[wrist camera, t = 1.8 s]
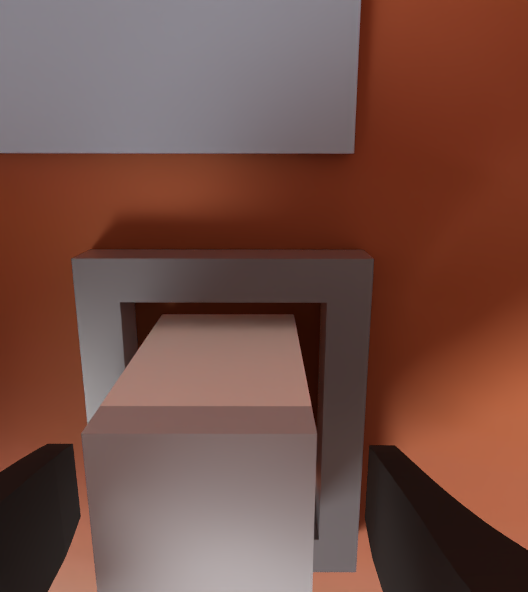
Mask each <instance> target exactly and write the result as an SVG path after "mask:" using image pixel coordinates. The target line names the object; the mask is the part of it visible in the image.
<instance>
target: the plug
mask: <svg viewBox="0 0 528 592" xmlns="http://www.w3.org/2000/svg"><path fill="white" fill-rule="evenodd" d="M81 437H82V447H83V456H84V466H85V476H86V486H87V495H88V505H89V515H90V524H91V534H92V544H93V554H94V563H95V573H96V583H97V592H312V580H313V547H314V515H315V483H316V450H317V431H316V426H315V421H314V416H313V411H312V406H311V400H310V395H309V390H308V385H307V380H306V375H305V370H304V364H303V359H302V354H301V349H300V344H299V339H298V334H297V328H296V323H295V318H294V314H162V315H161V317H160V318H159V320H158V321H157V323H156V324H155V326H154V327H153V329H152V330H151V332H150V333H149V334H148V336H147V337H146V339H145V340H144V342H143V343H142V345H141V346H140V348H139V349H138V351H137V352H136V354H135V355H134V357H133V358H132V359H131V361H130V362H129V364H128V365H127V367H126V368H125V370H124V371H123V373H122V374H121V376H120V377H119V379H118V380H117V382H116V383H115V384H114V386H113V387H112V389H111V390H110V392H109V393H108V395H107V396H106V398H105V399H104V401H103V402H102V404H101V405H100V407H99V408H98V410H97V411H96V412H95V414H94V415H93V417H92V418H91V420H90V421H89V423H88V424H87V426H86V427H85V429H84V430H83V432H82V433H81Z"/></svg>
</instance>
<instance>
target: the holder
mask: <svg viewBox="0 0 528 592" xmlns="http://www.w3.org/2000/svg"><path fill="white" fill-rule="evenodd" d="M71 261H72V271H73V282H74V292H75V302H76V312H77V322H78V333H79V343H80V353H81V363H82V373H83V384H84V394H85V404H86V414H87V424H88V423H89V421H90V420H91V418H92V417H93V415H94V414H95V412H96V411H97V410H98V408H99V407H100V405H101V404H102V402H103V401H104V399H105V398H106V396H107V395H108V393H109V392H110V390H111V389H112V387H113V386H114V384H115V383H116V382H117V380H118V379H119V377H120V376H121V374H122V373H123V371H124V370H125V368H126V367H127V365H128V364H129V362H130V361H131V359H132V358H133V357H134V355H135V354H136V352H137V351H138V342H137V327H136V313H135V302H216V303H321V307H320V340H319V372H318V404H317V450H316V483H315V515H314V547H313V572H356V562H357V545H358V528H359V510H360V493H361V476H362V458H363V441H364V424H365V407H366V389H367V372H368V355H369V337H370V320H371V303H372V286H373V268H374V258H372V257H371V256H370V255H369V254H368V253H367V252H365V251H364V250H297V249H90V250H88V251H86V252H84V253H82V254H79V255H77V256H75V257H73V258H71Z"/></svg>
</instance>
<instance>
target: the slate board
mask: <svg viewBox="0 0 528 592" xmlns="http://www.w3.org/2000/svg"><path fill="white" fill-rule="evenodd" d="M360 10H361V0H0V153H94V154H353V153H354V143H355V121H356V99H357V77H358V54H359V32H360Z"/></svg>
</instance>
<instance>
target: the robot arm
mask: <svg viewBox="0 0 528 592" xmlns="http://www.w3.org/2000/svg"><path fill="white" fill-rule="evenodd" d="M80 517H81V515H80V506H79V497H78V487H77V478H76V469H75V460H74V450H73V444H47V445H45V446H43V447H41V448H39V449H37V450H35V451H34V452H32V453H30V454H29V455H27V456H25V457H24V458H22V459H20V460H19V461H17V462H16V463H14V464H12V465H11V466H9V467H8V468H6V469H4V470H3V471H1V472H0V592H48V590H49V588H50V586H51V584H52V582H53V580H54V578H55V577H56V575H57V573H58V571H59V569H60V567H61V565H62V563H63V561H64V559H65V557H66V555H67V552H68V549H69V547H70V544H71V542H72V539H73V536H74V534H75V531H76V528H77V525H78V522H79V519H80ZM365 521H366V527H367V532H368V538H369V543H370V548H371V553H372V558H373V561H374V565H375V568H376V571H377V574H378V578H379V581H380V584H381V587H382V590H383V592H528V550H527V549H525V548H523V547H522V546H520V545H519V544H517V543H516V542H514V541H512V540H511V539H509V538H508V537H506V536H505V535H503V534H502V533H500V532H499V531H497V530H496V529H494V528H493V527H491V526H490V525H489V524H487V523H486V522H484V521H483V520H482V519H480V518H479V517H478V516H476V515H475V514H474V513H472V512H471V511H470V510H468V509H467V508H466V507H465V506H463V505H462V504H461V503H459V502H458V501H457V500H456V499H455V498H453V497H452V496H451V495H450V494H448V493H447V492H446V491H445V490H444V489H443V488H441V487H440V486H439V485H438V484H437V483H436V482H434V481H433V480H432V479H431V478H430V477H429V476H428V475H427V474H426V473H424V472H423V471H422V470H421V469H420V468H419V467H418V466H417V465H416V464H415V463H414V462H412V461H411V460H410V459H409V458H408V457H407V456H406V455H405V454H404V453H403V452H402V451H400V450H399V449H398V448H397V447H396V446H387V445H369V460H368V476H367V492H366V508H365Z"/></svg>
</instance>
